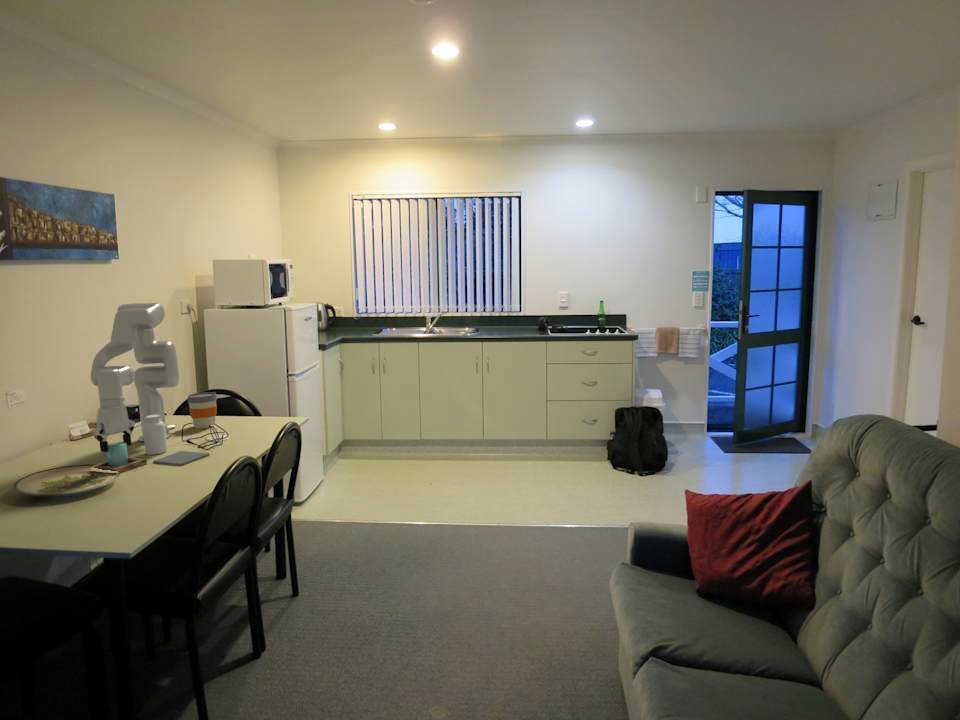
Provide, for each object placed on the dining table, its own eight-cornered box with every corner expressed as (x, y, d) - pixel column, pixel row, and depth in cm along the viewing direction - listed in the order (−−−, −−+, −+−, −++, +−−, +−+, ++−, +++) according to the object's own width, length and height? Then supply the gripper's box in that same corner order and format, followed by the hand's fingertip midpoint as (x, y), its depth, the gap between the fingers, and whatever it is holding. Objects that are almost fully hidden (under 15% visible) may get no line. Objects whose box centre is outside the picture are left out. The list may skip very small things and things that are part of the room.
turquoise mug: (132, 465, 241) (130, 442, 240) (118, 471, 235) (115, 447, 234) (115, 464, 244) (113, 440, 243) (100, 469, 238) (98, 445, 237)
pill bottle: (145, 456, 254) (141, 419, 252) (145, 451, 261) (141, 415, 259) (167, 453, 257) (164, 416, 255) (167, 448, 264) (163, 412, 262)
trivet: (181, 452, 257) (181, 450, 257) (209, 455, 252) (209, 453, 252) (153, 463, 244) (152, 460, 244) (181, 465, 239) (181, 463, 239)
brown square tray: (121, 461, 248) (120, 456, 247) (146, 463, 243) (146, 459, 243) (90, 471, 236) (89, 466, 235) (116, 474, 231) (116, 469, 231)
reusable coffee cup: (206, 430, 294) (204, 397, 292) (184, 428, 298) (181, 396, 296) (224, 423, 306) (222, 392, 304) (202, 422, 310) (199, 391, 307)
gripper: (124, 398, 245) (128, 442, 247) (82, 406, 229) (87, 453, 231) (139, 398, 242) (143, 443, 245) (98, 407, 226) (102, 455, 228)
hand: (116, 448), depth 238 cm, fingers open, 9 cm apart
